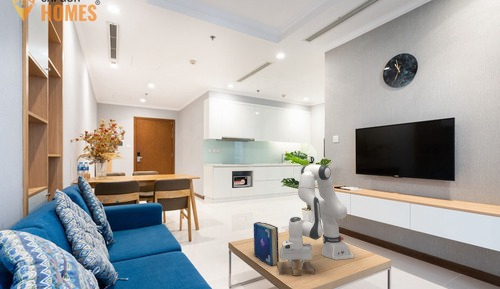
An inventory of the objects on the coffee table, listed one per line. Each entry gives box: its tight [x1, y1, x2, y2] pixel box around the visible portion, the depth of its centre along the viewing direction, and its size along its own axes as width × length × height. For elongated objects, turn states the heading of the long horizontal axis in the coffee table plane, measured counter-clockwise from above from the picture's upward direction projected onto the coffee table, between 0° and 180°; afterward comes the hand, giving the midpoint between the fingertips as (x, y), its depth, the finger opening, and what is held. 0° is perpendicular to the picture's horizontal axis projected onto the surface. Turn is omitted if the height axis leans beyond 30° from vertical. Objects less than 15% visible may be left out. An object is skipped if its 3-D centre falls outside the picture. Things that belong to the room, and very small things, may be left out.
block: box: [290, 260, 303, 276], centre depth 146 cm, size 5×8×7 cm, turn 1°
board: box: [276, 260, 315, 276], centre depth 151 cm, size 22×12×2 cm, turn 91°
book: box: [253, 221, 280, 267], centre depth 166 cm, size 22×7×25 cm, turn 35°
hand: (296, 266), depth 147 cm, fingers closed on block, 5 cm apart
